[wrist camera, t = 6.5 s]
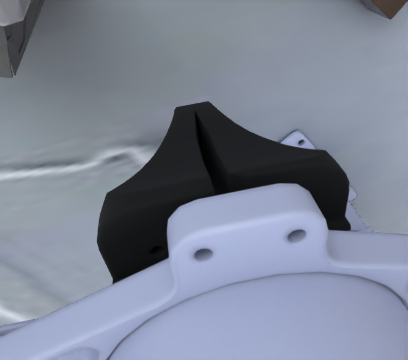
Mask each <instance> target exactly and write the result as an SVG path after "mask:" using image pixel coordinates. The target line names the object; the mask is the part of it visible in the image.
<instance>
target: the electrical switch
mask: <svg viewBox="0 0 408 360" xmlns="http://www.w3.org/2000/svg"><path fill="white" fill-rule="evenodd" d="M43 2H44V0H0V77H8V78H12V77H13V74H12V70H11V65H12V68H13V72H14V75H16V72H17V69H18V67H19V64H20V62H21V59H22V56H23V54H24V51H25V49H26V46H27V43H28V41H29V38H30V36H31V33H32V30H33V28H34V25H35V23H36V20H37V18H38V15H39V12H40V10H41V7H42V5H43ZM8 55H9V56H8ZM9 58H10V60H9ZM10 62H11V65H10Z"/></svg>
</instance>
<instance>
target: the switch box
mask: <svg viewBox="0 0 408 360" xmlns="http://www.w3.org/2000/svg"><path fill="white" fill-rule="evenodd" d="M361 1H362V2H363V3H364V4H365V5H366V6H367V7H368V8H369V9H370V10H371V11H372V12H375V13H377V14H379V15H381V16H383V17H386V18H388V19H392V18H393V17H394V16H395V14H396V13H397V12H398V11H399V10H400V9H401V8H402V7H403V5H404V4H405V3H406V2H407V1H408V0H361Z"/></svg>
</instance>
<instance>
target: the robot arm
mask: <svg viewBox="0 0 408 360" xmlns="http://www.w3.org/2000/svg"><path fill="white" fill-rule="evenodd" d="M300 140H303V141H302V142H301V143H298V142H299V141H300ZM356 196H357V194H356V192H355V191H354V190H353V189H352V187H351V186H350V185H349V180H348V178H347V176H346V174H345V172H344V171H343V170H342V168H341V167H340V166H339V164H338V163H337V162H336V161H335V160H334V159H333V158H332V157H331V155H330V154H329V153H328V152H327V151H326V150H317V149H316V148H315V147H314V146H313V144H312V143H311V142H310V141H309V140H308V139H307V138H306V137H305V136H304V135H303V133H302V132H300V131H295V132H293V133H291V134H290V135H289V136H288V137H286V138H285V139H284V140H283V141H282V142H280V143H278V142H275V141H272V140H269V139H266V138H263V137H261V136H259V135H256V134H254V133H252V132H250V131H248V130H246V129H244V128H243V127H241V126H239V125H238V124H236V123H235V122H233V121H232V120H230V119H229V118H228V117H226V116H225V115H224V114H223V113H221V112H220V111H219V110H218V109H217V108H216V107H215V106H213V105H212V104H211V103H210V102H209V101H207V102H202V103H196V104H191V105H186V106H180V107H176V109H175V110H174V116H173V119H172V122H171V125H170V127H169V129H168V132H167V134H166V136H165V138H164V140H163V142H162V143H161V145H160V147H159V148H158V150H157V151H156V153H155V154H154V156H153V157H152V158H151V159H150V160H149V161H148V163H147V164H146V165H145V166H144V167H143V168H142V169H141V170H140V171H138V172H137V173H136V174H135V175H134V176H132V177H131V178H130V179H129V180H127V181H126V182H124V183H123V184H121V185H120V186H118V187H116V188H115V189H113V190H112V191H110V192H108V193H107V194H106V197H105V200H104V203H103V206H102V210H101V213H100V218H99V225H98V235H97V244H98V247H99V251H100V253H101V255H102V257H103V259H104V261H105V263H106V265H107V267H108V269H109V272H110V274H111V276H112V278H113V284H112V285H110V286H108V287H106V288H104V289H101V290H99V291H97V292H95V293H93V294H91V295H89V296H86V297H84V298H82V299H80V300H78V301H76V302H74V303H72V304H69V305H67V306H65V307H63V308H61V309H59V310H57V311H54V312H52V313H50V314H48V315H46V316H44V317H42V318H38V319H33V320H28V321H23V322H18V323H14V324H9V325H4V326H0V360H408V234H390V233H374V231H373V230H372V229H371V227H367V226H366V225H365V224H364V222H363V221H362V219H361V218H360V216H359V215H358V214H357V212H356V211H355V209H354V208H353V206H352V205H351V204H350V202H351V201H352V200H354V199H355V198H356Z"/></svg>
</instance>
